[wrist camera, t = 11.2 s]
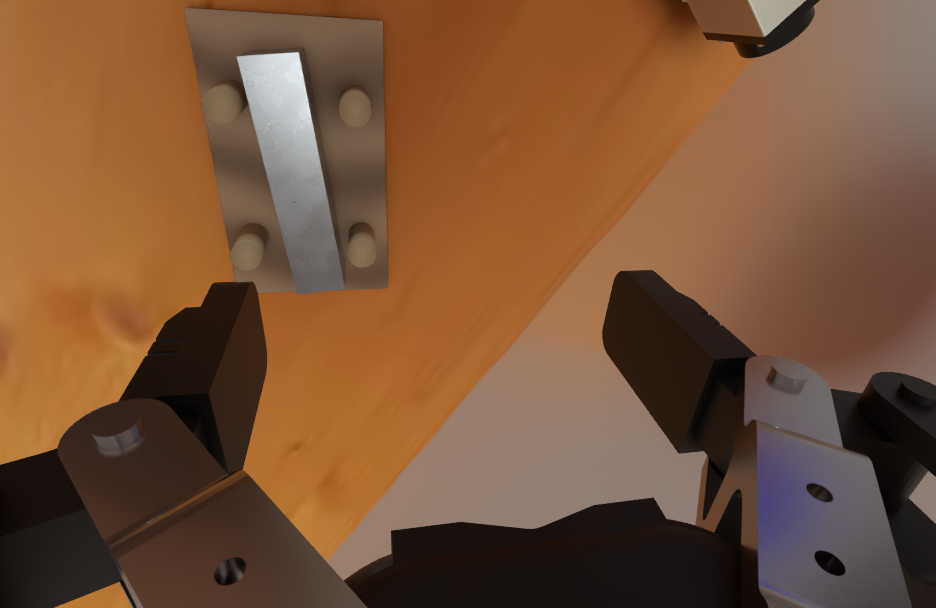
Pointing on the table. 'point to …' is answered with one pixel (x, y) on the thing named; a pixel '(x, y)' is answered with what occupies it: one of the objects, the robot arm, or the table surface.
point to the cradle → (341, 125)
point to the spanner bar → (295, 165)
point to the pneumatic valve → (753, 22)
